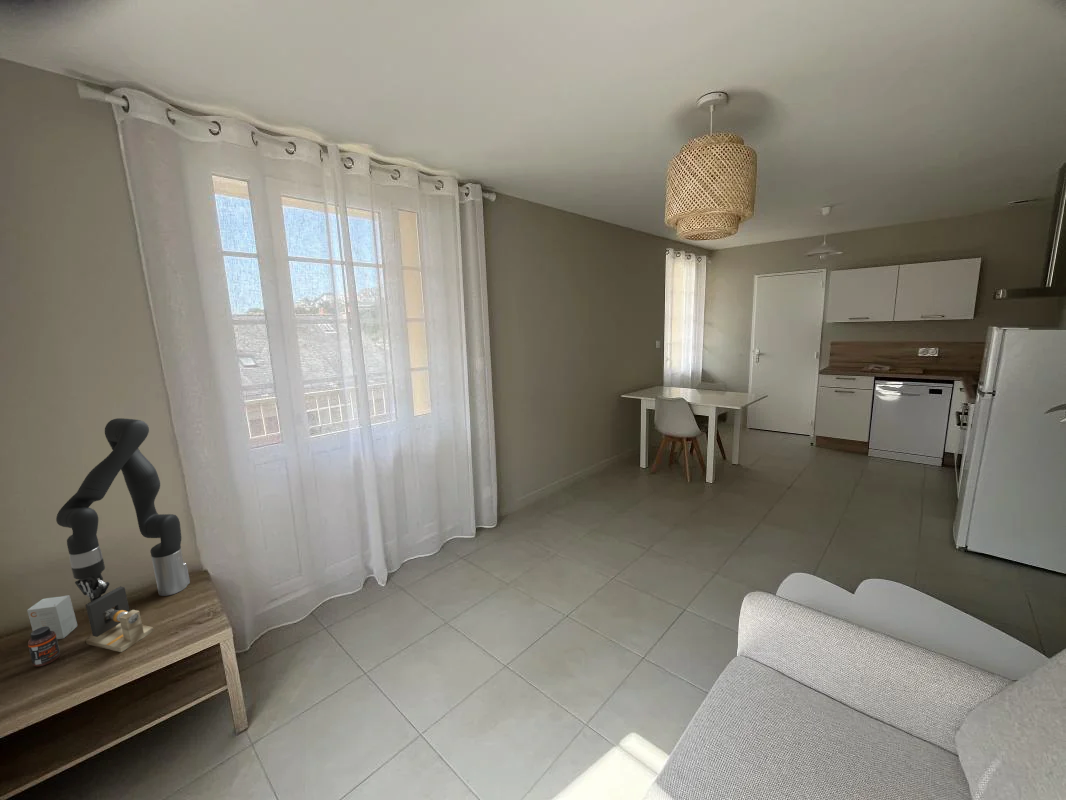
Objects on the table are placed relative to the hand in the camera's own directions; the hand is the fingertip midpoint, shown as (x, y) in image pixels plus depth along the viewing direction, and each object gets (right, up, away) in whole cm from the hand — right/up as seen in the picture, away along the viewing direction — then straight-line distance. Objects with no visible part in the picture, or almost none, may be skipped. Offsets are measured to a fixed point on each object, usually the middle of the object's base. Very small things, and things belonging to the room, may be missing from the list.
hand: (97, 605), depth 145 cm
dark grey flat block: (+5, -8, 0) cm, 9 cm away
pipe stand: (+8, -12, +1) cm, 14 cm away
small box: (-16, -12, +2) cm, 20 cm away
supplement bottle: (-7, -14, -9) cm, 18 cm away
